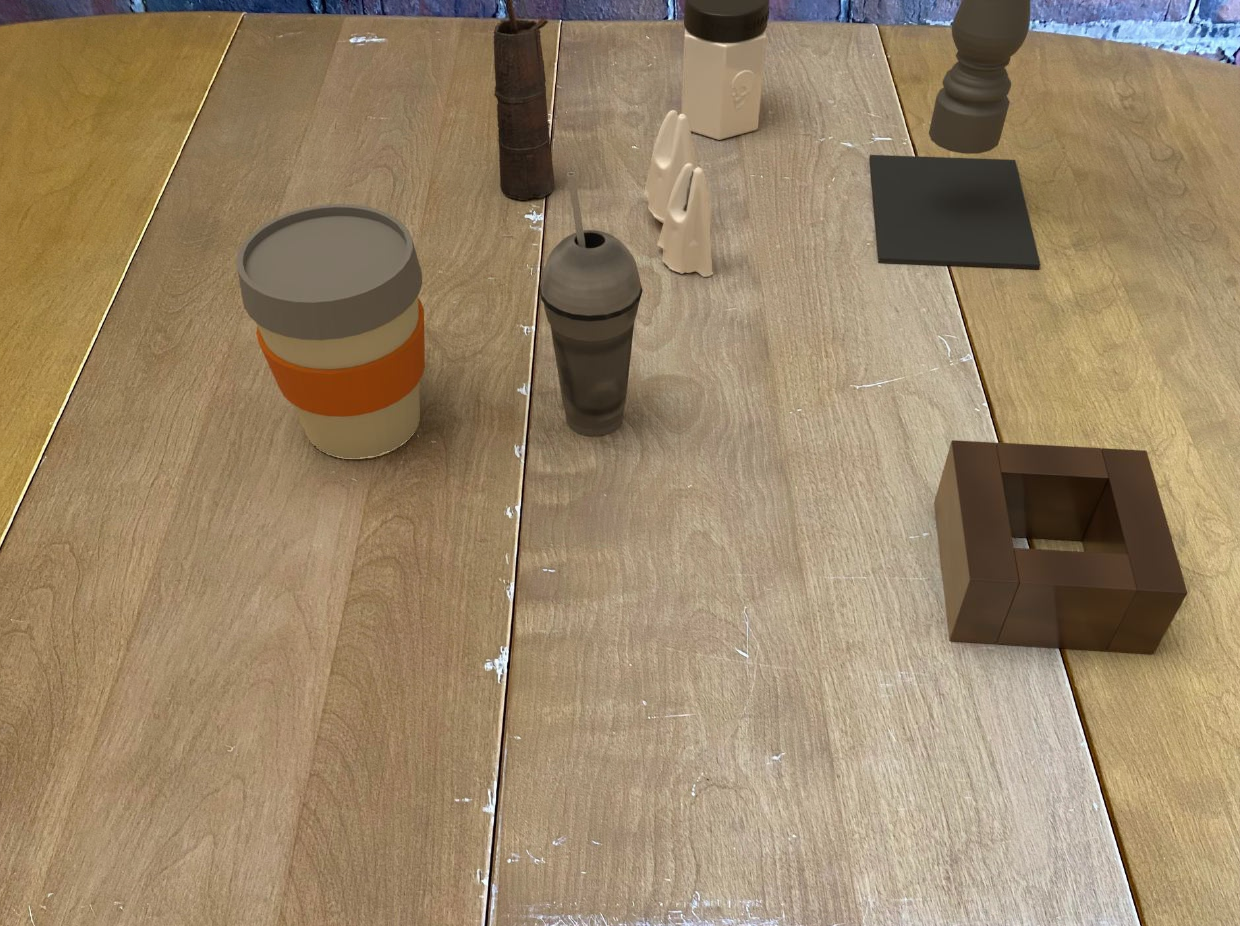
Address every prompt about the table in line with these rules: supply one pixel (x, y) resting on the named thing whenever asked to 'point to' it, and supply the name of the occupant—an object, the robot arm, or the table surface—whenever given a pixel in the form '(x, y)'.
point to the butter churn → (522, 109)
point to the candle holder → (979, 75)
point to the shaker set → (680, 199)
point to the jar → (723, 65)
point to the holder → (1051, 579)
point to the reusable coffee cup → (340, 322)
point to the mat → (951, 212)
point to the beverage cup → (591, 323)
